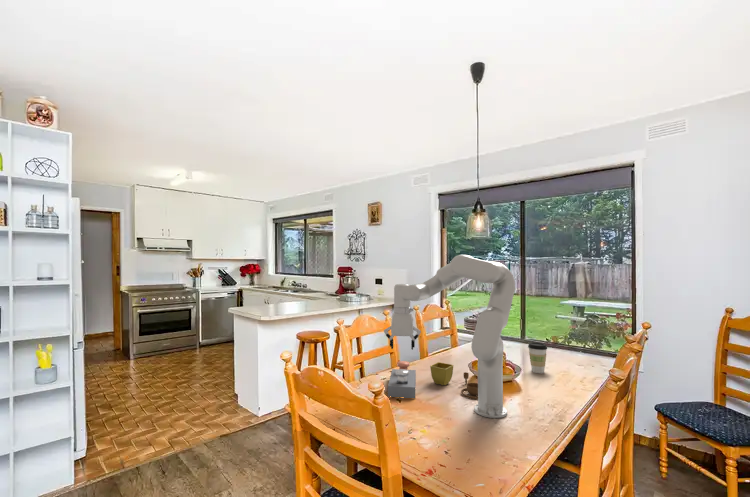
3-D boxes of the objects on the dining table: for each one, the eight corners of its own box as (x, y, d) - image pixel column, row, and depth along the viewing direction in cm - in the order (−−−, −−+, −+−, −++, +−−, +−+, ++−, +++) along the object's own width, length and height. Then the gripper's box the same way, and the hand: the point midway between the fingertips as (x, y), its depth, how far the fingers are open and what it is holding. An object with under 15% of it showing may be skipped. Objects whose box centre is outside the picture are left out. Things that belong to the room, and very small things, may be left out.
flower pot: (446, 388, 169) (446, 368, 170) (429, 384, 174) (429, 365, 175) (454, 383, 176) (453, 364, 177) (438, 379, 181) (438, 361, 182)
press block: (415, 399, 155) (415, 387, 155) (387, 397, 156) (387, 386, 157) (415, 379, 181) (415, 370, 181) (392, 379, 182) (392, 369, 183)
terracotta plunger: (409, 377, 172) (409, 364, 173) (397, 377, 173) (397, 364, 173) (409, 373, 178) (409, 361, 179) (397, 373, 179) (397, 360, 179)
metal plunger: (408, 387, 159) (408, 373, 159) (395, 386, 159) (395, 372, 160) (408, 383, 165) (408, 369, 165) (396, 382, 165) (396, 368, 166)
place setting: (451, 396, 159) (451, 383, 160) (462, 383, 177) (462, 371, 177) (491, 404, 151) (491, 390, 151) (499, 389, 169) (499, 377, 169)
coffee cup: (524, 370, 198) (523, 343, 199) (536, 368, 202) (536, 341, 203) (539, 375, 189) (538, 346, 190) (551, 372, 193) (551, 345, 194)
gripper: (421, 310, 166) (421, 347, 166) (384, 309, 169) (384, 346, 168) (421, 312, 159) (421, 351, 158) (382, 311, 161) (382, 349, 160)
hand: (402, 348), depth 163 cm, fingers open, 8 cm apart
